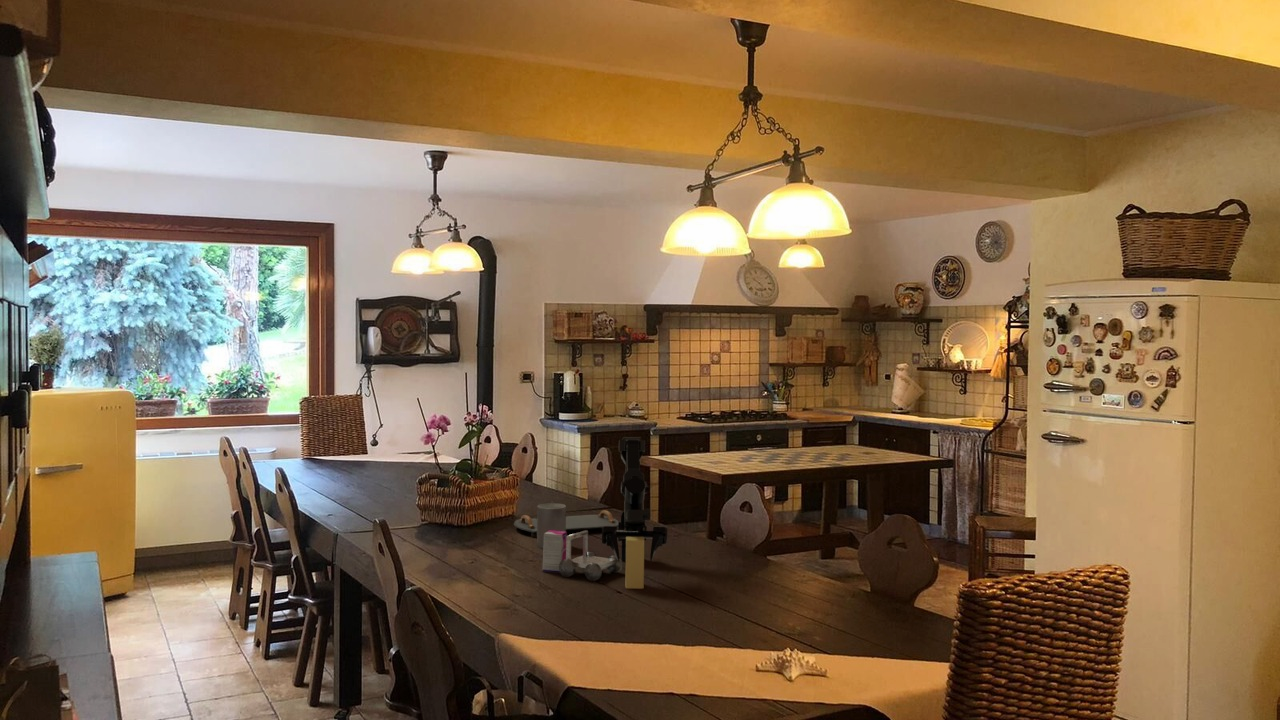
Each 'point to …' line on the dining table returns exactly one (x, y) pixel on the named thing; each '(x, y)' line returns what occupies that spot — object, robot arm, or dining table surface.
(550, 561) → the supplement box
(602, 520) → the serving board
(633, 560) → the tall yellow block
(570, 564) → the trolley
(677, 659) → the dining table surface
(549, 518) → the pillar candle
